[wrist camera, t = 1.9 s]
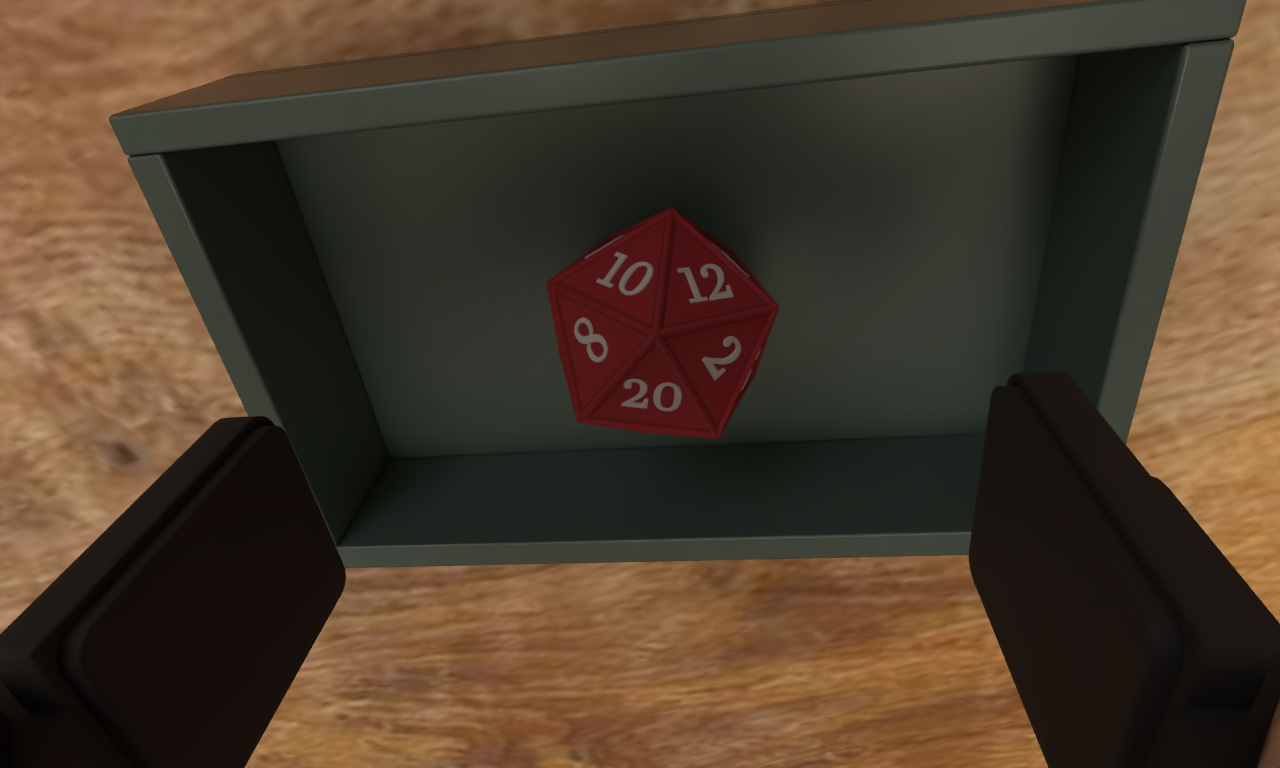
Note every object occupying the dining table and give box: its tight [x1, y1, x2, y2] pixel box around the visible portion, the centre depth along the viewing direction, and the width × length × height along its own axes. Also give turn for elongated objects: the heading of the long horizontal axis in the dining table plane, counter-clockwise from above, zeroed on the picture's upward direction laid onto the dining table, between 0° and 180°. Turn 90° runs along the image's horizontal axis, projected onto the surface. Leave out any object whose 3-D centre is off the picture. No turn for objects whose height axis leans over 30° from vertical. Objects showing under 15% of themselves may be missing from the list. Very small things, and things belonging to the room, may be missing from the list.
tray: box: [109, 0, 1246, 568], centre depth 14 cm, size 9×15×3 cm, turn 97°
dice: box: [546, 207, 779, 439], centre depth 13 cm, size 4×4×4 cm
